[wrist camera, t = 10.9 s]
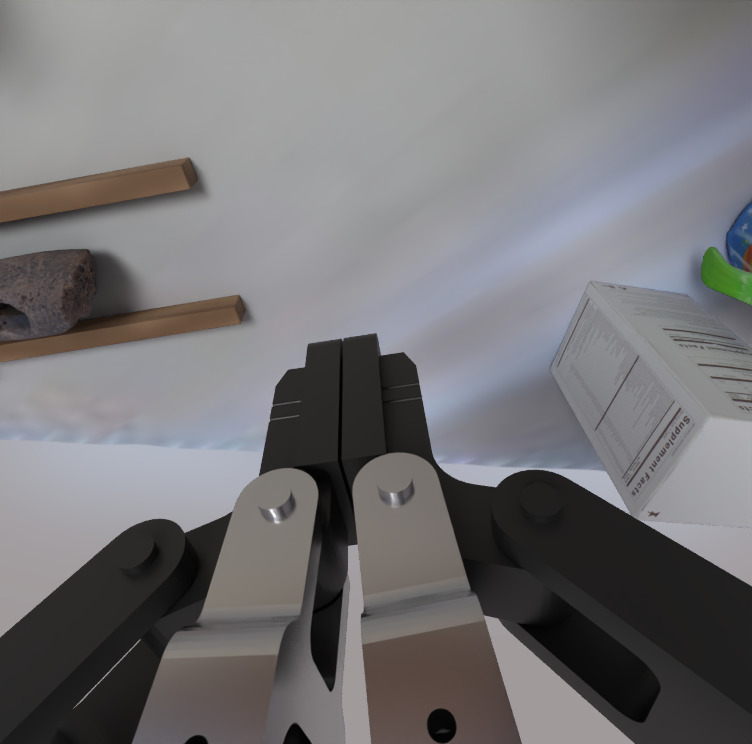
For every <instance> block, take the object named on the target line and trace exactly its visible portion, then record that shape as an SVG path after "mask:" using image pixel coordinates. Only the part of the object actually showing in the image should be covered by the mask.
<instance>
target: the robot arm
mask: <svg viewBox="0 0 752 744" xmlns="http://www.w3.org/2000/svg"><path fill="white" fill-rule="evenodd" d="M357 544H358V551H359V560H360V571H361V580H362V590H363V601H364V612H363V613H362V614H361V637H362V649H363V659H364V670H365V681H366V692H367V703H368V714H369V725H370V735H371V744H522V743H521V739H520V736H519V732H518V729H517V726H516V722H515V719H514V716H513V713H512V709H511V706H510V702H509V699H508V696H507V692H506V689H505V685H504V682H503V679H502V676H501V672H500V669H499V665H498V662H497V658H496V655H495V652H494V648H493V645H492V642H491V638H490V635H489V632H488V629H487V625H486V621H485V618H484V615H485V616H490V617H494V618H498V619H499V620H500V622H501V623H502V625H503V626H504V627H505V628H506V629H507V630H508V631H509V632H510V633H511V634H513V635H514V636H515V637H516V638H517V639H518V640H519V641H520V642H522V643H523V644H524V645H525V646H526V647H527V648H528V649H529V650H531V651H532V652H533V653H534V654H535V655H536V656H537V657H538V658H540V659H541V660H542V661H543V662H544V663H545V664H546V665H547V666H549V667H550V668H551V669H552V670H553V671H554V672H555V673H556V674H557V675H559V676H560V677H561V678H562V679H563V680H564V681H565V682H567V683H568V684H569V685H570V686H571V687H572V688H573V689H574V690H576V691H577V692H578V693H579V694H580V695H581V696H582V697H583V698H584V699H586V700H587V701H588V702H589V703H590V704H591V705H592V706H593V707H595V708H596V709H597V710H598V711H599V712H600V713H601V714H602V715H604V716H605V717H606V718H607V719H608V720H609V721H610V722H611V723H612V724H614V725H615V726H616V727H617V728H618V729H619V730H620V731H621V732H623V733H624V734H625V735H626V736H627V737H628V738H629V739H631V741H633V742H634V743H635V744H752V586H750V585H748V584H747V583H745V582H743V581H741V580H740V579H738V578H736V577H735V576H733V575H731V574H730V573H728V572H726V571H725V570H723V569H721V568H719V567H718V566H716V565H714V564H713V563H711V562H709V561H707V560H706V559H704V558H702V557H700V556H699V555H697V554H696V553H694V552H692V551H690V550H689V549H687V548H685V547H684V546H682V545H680V544H678V543H677V542H675V541H673V540H672V539H670V538H668V537H666V536H665V535H663V534H661V533H660V532H658V531H656V530H655V529H653V528H651V527H649V526H648V525H646V524H644V523H643V522H641V521H639V520H637V519H636V518H634V517H632V516H631V515H629V514H627V513H625V512H624V511H622V510H620V509H619V508H617V507H615V506H613V505H612V504H610V503H608V502H607V501H605V500H603V499H602V498H600V497H598V496H597V495H595V494H593V493H591V492H590V491H588V490H586V489H585V488H583V487H581V486H579V485H578V484H576V483H574V482H573V481H571V480H569V479H567V478H565V477H563V476H561V475H559V474H556V473H553V472H549V471H544V470H526V471H520V472H518V473H514V474H512V475H510V476H508V477H507V478H505V479H504V480H503V481H502V482H501V483H500V484H499V485H498V486H497V487H496V488H495V487H488V486H481V485H475V484H470V483H465V482H462V481H459V480H457V479H455V478H453V477H451V476H450V475H448V474H447V473H445V472H444V471H443V470H442V469H441V468H440V467H439V466H438V464H437V463H436V461H435V459H434V457H433V454H432V450H431V444H430V439H429V434H428V428H427V423H426V417H425V412H424V406H423V401H422V396H421V390H420V385H419V379H418V374H417V368H416V365H415V364H414V363H413V362H412V361H411V360H410V359H409V358H408V356H407V355H406V354H405V353H404V352H402V353H396V354H389V355H382V356H381V353H380V348H379V342H378V337H377V333H375V334H368V335H362V336H355V337H349V338H344V340H343V341H342V339H337V340H330V341H323V342H317V343H310V344H308V347H307V356H306V364H305V367H304V368H297V369H291V370H288V371H287V372H286V373H285V375H284V376H283V377H282V379H281V380H280V381H279V383H278V384H277V385H276V388H275V393H274V399H273V407H272V409H271V415H270V422H269V426H268V431H267V436H266V442H265V447H264V452H263V458H262V463H261V469H260V474H259V477H257V478H256V479H254V480H253V481H252V482H250V483H249V484H248V485H247V486H246V487H245V488H244V490H243V491H242V492H241V493H240V495H239V497H238V499H237V501H236V503H235V506H234V510H233V511H232V512H231V513H229V514H227V515H226V516H224V517H222V518H219V519H217V520H215V521H213V522H210V523H208V524H206V525H203V526H201V527H198V528H196V529H194V530H191V531H189V532H186V533H184V532H183V530H182V529H181V527H180V526H179V525H178V524H177V523H175V522H173V521H170V520H166V519H152V520H148V521H144V522H142V523H139V524H136V525H134V526H132V527H130V528H129V529H127V530H126V531H124V532H122V533H121V534H120V535H119V536H118V537H116V538H115V539H114V540H113V541H111V542H110V543H109V544H108V545H107V546H106V547H104V548H103V549H102V550H101V551H100V552H99V553H97V554H96V555H95V556H94V557H93V558H92V559H91V560H89V561H88V562H87V563H86V564H85V565H84V566H82V567H81V568H80V569H79V570H78V571H77V572H75V573H74V574H73V575H72V576H71V577H70V578H69V579H67V580H66V581H65V582H64V583H63V584H62V585H60V586H59V587H58V588H57V589H56V590H55V591H54V592H52V593H51V594H50V595H49V596H48V597H47V598H46V599H44V600H43V601H42V602H41V603H40V604H39V605H37V606H36V607H35V608H34V609H33V610H32V611H31V612H29V613H28V614H27V615H26V616H25V617H23V618H22V619H21V620H20V621H19V622H18V623H16V624H15V625H14V626H13V627H12V628H11V629H10V630H9V631H7V632H6V633H5V634H4V635H3V636H2V637H1V638H0V744H345V725H344V717H343V709H342V684H343V671H344V657H345V644H346V631H347V617H348V603H349V590H350V582H349V577H348V574H347V572H348V546H349V545H357ZM140 639H141V640H140ZM138 640H140V641H139V643H138V644H137V645H136V646H135V647H134V648H133V649H132V650H131V651H130V652H129V653H128V654H127V655H126V656H125V657H124V658H123V659H122V660H121V661H120V662H119V663H118V664H117V665H116V666H115V667H114V668H113V669H112V671H111V672H110V673H109V674H108V675H107V676H106V677H105V678H104V679H103V680H102V681H101V682H100V683H99V684H98V685H97V686H96V687H95V688H94V689H93V690H92V691H91V692H90V693H89V694H88V696H87V697H86V698H85V699H84V700H83V701H82V702H81V703H80V704H79V705H77V704H78V703H79V702H80V701H81V700H82V698H84V696H85V695H86V694H87V693H88V692H89V691H90V690H91V689H92V688H93V687H94V686H95V685H96V684H97V683H98V682H99V681H100V680H101V679H102V678H103V677H104V676H105V675H106V674H107V673H108V672H109V671H110V670H111V668H112V667H113V666H114V665H115V664H116V663H117V662H118V661H119V660H120V659H121V658H122V657H123V656H124V655H125V654H126V653H127V652H128V651H129V650H130V649H131V648H132V647H133V646H134V645H135V644H136V642H138ZM76 705H77V706H76ZM75 706H76V707H75ZM74 707H75V708H74ZM73 708H74V709H73Z"/></svg>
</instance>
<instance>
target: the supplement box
mask: <svg viewBox="0 0 752 744" xmlns="http://www.w3.org/2000/svg"><path fill="white" fill-rule="evenodd" d="M550 371H551V373H552V375H553V377H554V378H555V380H556V382H557V384H558V386H559V387H560V389H561V391H562V393H563V395H564V396H565V398H566V400H567V402H568V403H569V405H570V407H571V409H572V410H573V412H574V414H575V416H576V418H577V419H578V421H579V423H580V425H581V427H582V428H583V430H584V432H585V434H586V435H587V437H588V439H589V440H590V442H591V444H592V446H593V448H594V449H595V451H596V453H597V455H598V457H599V459H600V460H601V462H602V464H603V466H604V468H605V469H606V471H607V473H608V475H609V476H610V478H611V480H612V482H613V483H614V485H615V487H616V489H617V491H618V492H619V494H620V496H621V497H622V500H623V501H624V503H625V505H626V507H627V508H628V510H629V512H630V514H631V516H632V517H634V518H636V519H637V520H646V521H658V522H672V523H687V524H701V525H714V526H727V527H739V528H752V349H751V348H750V347H749V346H748V345H747V344H745V343H744V342H743V341H742V340H741V339H739V338H738V337H737V336H736V335H735V334H733V333H732V332H731V331H730V330H729V329H727V328H726V327H725V326H724V325H722V324H721V323H720V322H719V321H718V320H716V319H715V318H714V317H713V316H712V315H710V314H709V313H708V312H707V311H706V310H705V309H703V308H702V307H701V306H700V305H699V304H697V303H696V302H695V301H694V300H693V299H691V298H690V297H689V296H688V295H685V294H678V293H671V292H664V291H657V290H650V289H643V288H636V287H629V286H622V285H615V284H607V283H600V282H590V283H589V284H588V286H587V289H586V291H585V293H584V295H583V297H582V300H581V302H580V304H579V306H578V308H577V311H576V313H575V315H574V317H573V319H572V322H571V324H570V326H569V328H568V330H567V333H566V335H565V337H564V339H563V342H562V344H561V346H560V348H559V350H558V353H557V355H556V357H555V359H554V361H553V364H552V366H551V368H550Z"/></svg>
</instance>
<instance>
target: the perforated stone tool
mask: <svg viewBox="0 0 752 744" xmlns="http://www.w3.org/2000/svg"><path fill="white" fill-rule="evenodd" d="M96 286H97V285H96V279H95V272H94V263H93V260H92V257H91V254H90V251H89V250H88V249H70V250H55V251H45V252H38V253H32V254H26V255H21V256H15V257H10V258H5V259H1V260H0V341H10V340H26V339H33V338H39V337H45V336H51V335H57V334H62V333H65V332H66V331H67V330H68V329H70V328H72V327H74V325H75V324H76V323H77V321H78V320H79V317H88V316H89V315H90V313H91V304H90V302H89V301H90V299H91V298H92V297H93V296H94V295H95V294H96V290H97V287H96Z"/></svg>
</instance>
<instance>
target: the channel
mask: <svg viewBox="0 0 752 744" xmlns="http://www.w3.org/2000/svg"><path fill="white" fill-rule="evenodd" d="M196 181H197V178H196V175H195V173H194V170H193V167H192V164H191V162H190V159H189V158H184V159H178V160H173V161H167V162H162V163H156V164H150V165H145V166H139V167H134V168H128V169H123V170H117V171H112V172H106V173H101V174H95V175H90V176H84V177H79V178H73V179H68V180H62V181H57V182H51V183H46V184H40V185H35V186H29V187H24V188H18V189H13V190H7V191H2V192H0V223H1V222H7V221H12V220H18V219H24V218H29V217H35V216H41V215H46V214H52V213H57V212H63V211H69V210H74V209H80V208H86V207H91V206H97V205H102V204H108V203H114V202H119V201H125V200H131V199H136V198H142V197H147V196H153V195H159V194H164V193H170V192H176V191H181V190H187V189H190V188H191V187H192V186H193V185H194V183H195V182H196ZM244 312H245V310H244V307H243V304H242V302H241V299H240V296H239V295H235V296H229V297H223V298H217V299H210V300H204V301H198V302H192V303H186V304H180V305H174V306H168V307H162V308H156V309H149V310H143V311H137V312H131V313H125V314H119V315H113V316H107V317H101V318H95V319H89V320H82V321H77V323H76V324H75V325H74V327H72V328H70V329H68V330H67V331H66V332H65V333H62V334H57V335H51V336H45V337H39V338H33V339H26V340H10V341H0V362H5V361H11V360H17V359H24V358H30V357H36V356H42V355H49V354H55V353H61V352H67V351H73V350H80V349H86V348H92V347H98V346H105V345H111V344H117V343H123V342H130V341H136V340H142V339H148V338H154V337H161V336H167V335H173V334H179V333H186V332H192V331H198V330H204V329H210V328H217V327H223V326H229V325H235V324H241V321H242V318H243V315H244Z"/></svg>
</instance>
